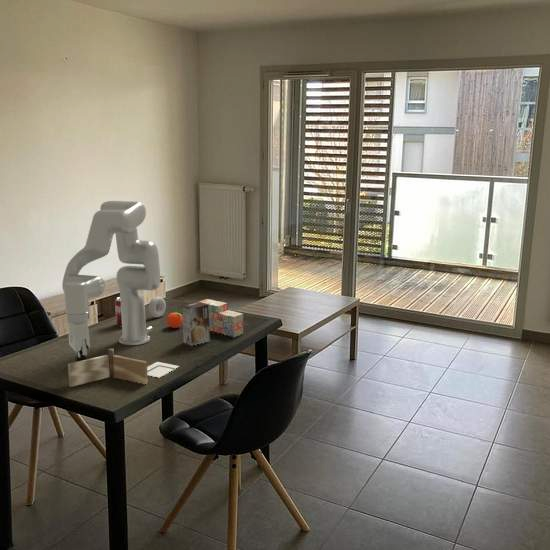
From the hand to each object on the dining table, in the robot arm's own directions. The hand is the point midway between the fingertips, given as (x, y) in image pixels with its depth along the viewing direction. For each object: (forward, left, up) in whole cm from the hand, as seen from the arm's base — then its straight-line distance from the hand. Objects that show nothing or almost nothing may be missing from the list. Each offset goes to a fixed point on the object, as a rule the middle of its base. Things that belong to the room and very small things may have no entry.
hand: (82, 366), depth 219 cm
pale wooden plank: (0, +3, -5) cm, 6 cm away
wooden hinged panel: (-7, +14, -5) cm, 16 cm away
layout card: (-19, +18, -5) cm, 27 cm away
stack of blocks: (-69, +14, -5) cm, 70 cm away
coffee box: (-51, +13, -5) cm, 53 cm away
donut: (-72, -23, -5) cm, 76 cm away
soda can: (-56, -29, -5) cm, 64 cm away
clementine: (-63, -6, -5) cm, 64 cm away
